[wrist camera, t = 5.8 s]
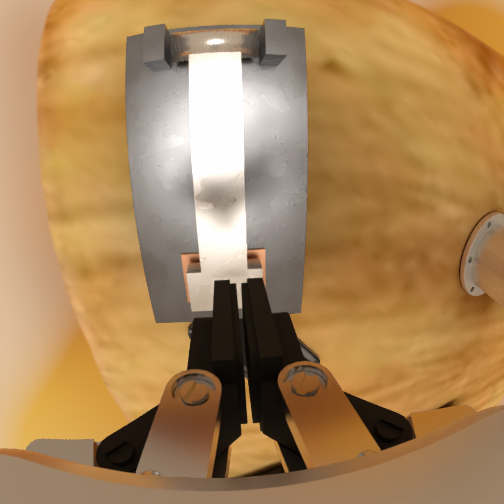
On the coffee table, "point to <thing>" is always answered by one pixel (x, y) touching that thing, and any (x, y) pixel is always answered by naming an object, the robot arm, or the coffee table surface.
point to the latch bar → (217, 157)
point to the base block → (255, 164)
